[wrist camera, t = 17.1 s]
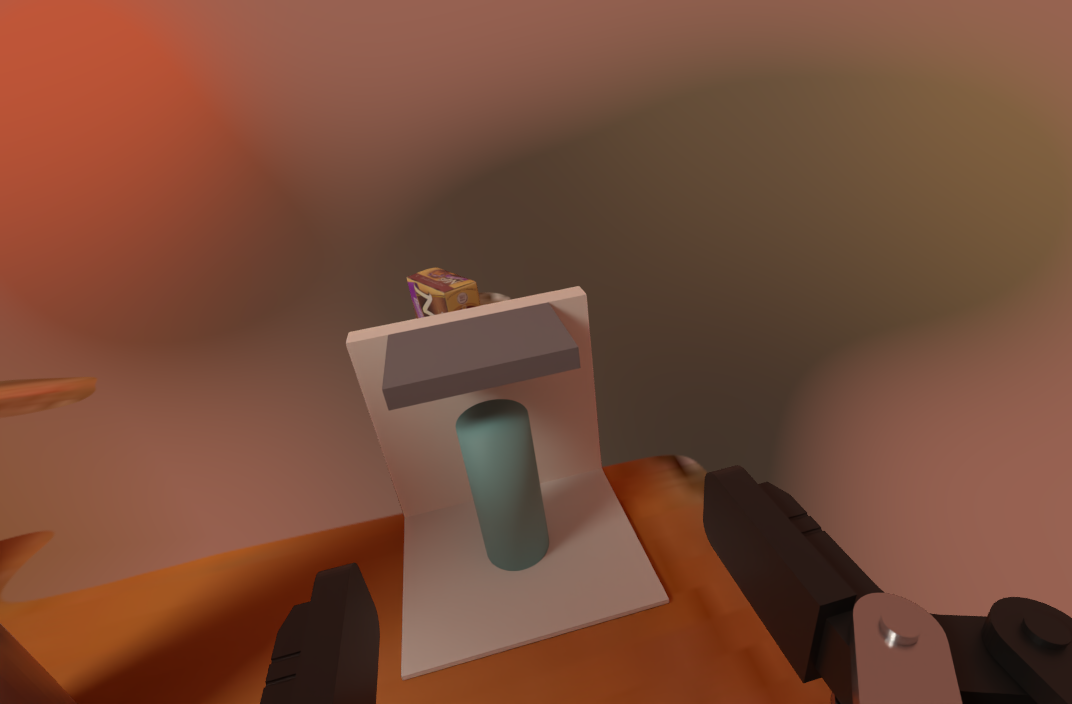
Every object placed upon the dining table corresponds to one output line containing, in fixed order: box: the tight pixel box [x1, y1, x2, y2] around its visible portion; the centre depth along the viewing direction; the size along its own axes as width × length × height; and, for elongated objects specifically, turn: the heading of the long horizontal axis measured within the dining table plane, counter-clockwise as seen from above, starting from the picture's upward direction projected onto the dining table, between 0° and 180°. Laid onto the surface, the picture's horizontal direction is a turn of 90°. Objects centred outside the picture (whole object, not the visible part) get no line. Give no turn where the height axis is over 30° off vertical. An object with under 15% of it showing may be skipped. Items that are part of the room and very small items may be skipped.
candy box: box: [407, 268, 480, 319], centre depth 58 cm, size 9×4×15 cm, turn 38°
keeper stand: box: [346, 286, 669, 680], centre depth 36 cm, size 18×16×18 cm
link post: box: [456, 399, 549, 571], centre depth 37 cm, size 5×5×12 cm
